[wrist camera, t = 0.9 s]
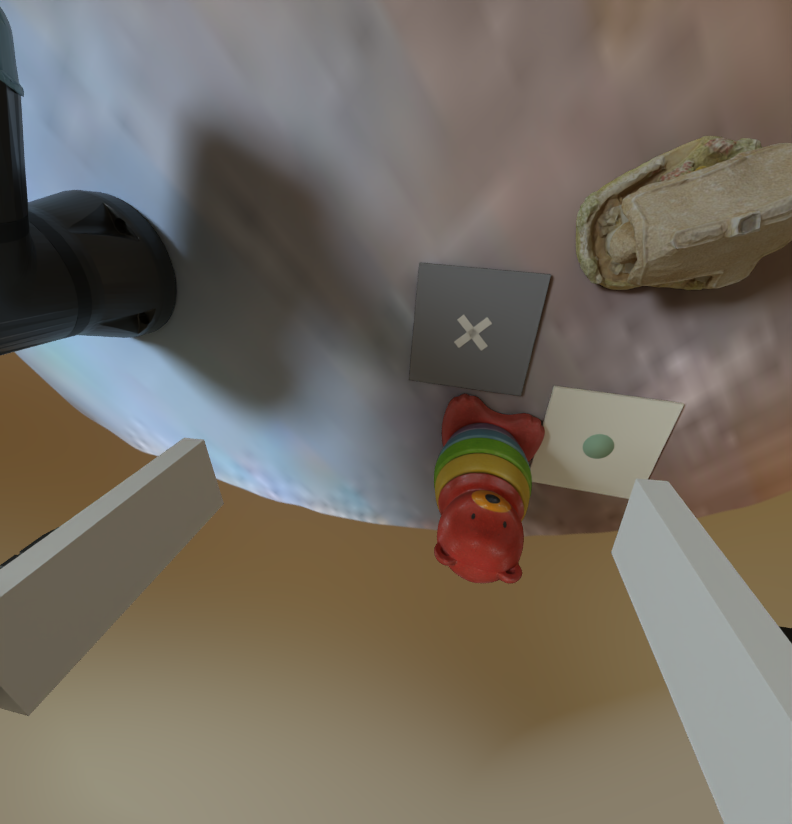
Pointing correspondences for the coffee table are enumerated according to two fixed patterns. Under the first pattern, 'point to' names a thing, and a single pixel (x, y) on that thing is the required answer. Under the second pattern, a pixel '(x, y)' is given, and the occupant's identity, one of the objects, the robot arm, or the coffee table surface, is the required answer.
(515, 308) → the pad
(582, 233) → the beige lumpy chunk
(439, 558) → the stacking bear
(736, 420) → the coffee table surface
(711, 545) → the robot arm
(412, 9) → the coffee table surface
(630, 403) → the pad
